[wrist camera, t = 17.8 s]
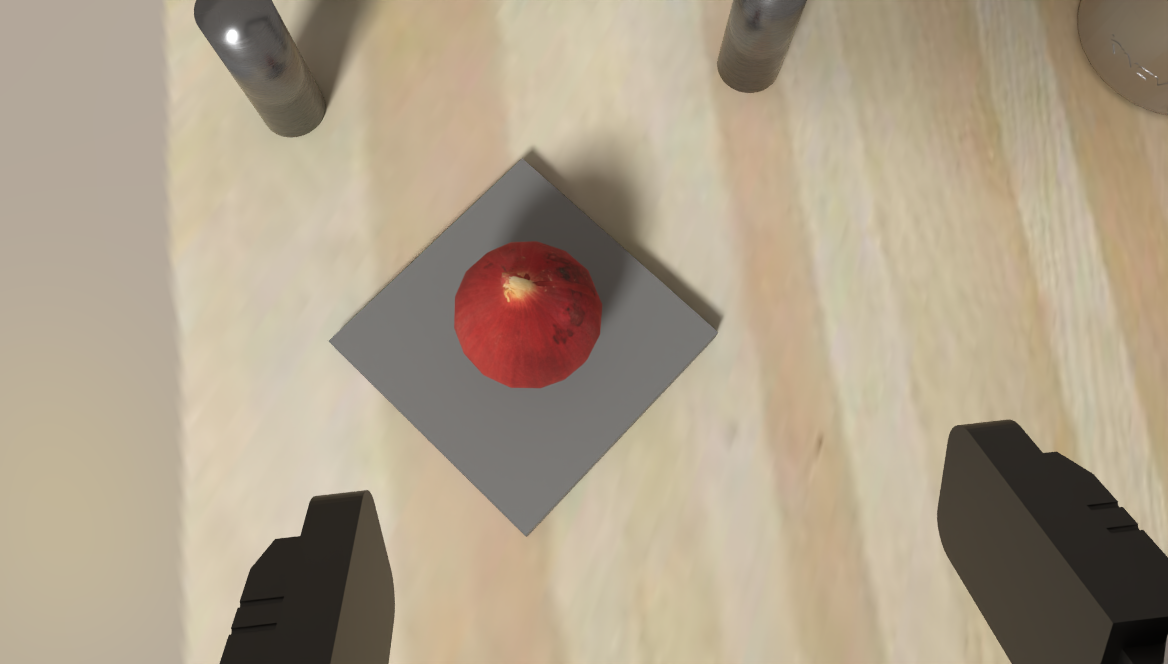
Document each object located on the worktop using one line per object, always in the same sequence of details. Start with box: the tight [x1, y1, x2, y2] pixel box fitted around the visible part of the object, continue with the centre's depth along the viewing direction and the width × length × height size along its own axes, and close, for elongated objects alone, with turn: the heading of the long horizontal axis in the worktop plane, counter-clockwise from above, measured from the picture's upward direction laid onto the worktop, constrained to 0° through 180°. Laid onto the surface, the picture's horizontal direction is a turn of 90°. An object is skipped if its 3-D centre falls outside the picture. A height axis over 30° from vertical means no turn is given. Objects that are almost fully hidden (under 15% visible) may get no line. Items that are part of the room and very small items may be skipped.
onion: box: [454, 241, 602, 388], centre depth 36 cm, size 6×6×8 cm
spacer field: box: [194, 0, 807, 137], centre depth 41 cm, size 20×22×8 cm
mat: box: [329, 158, 718, 537], centre depth 40 cm, size 12×12×1 cm
